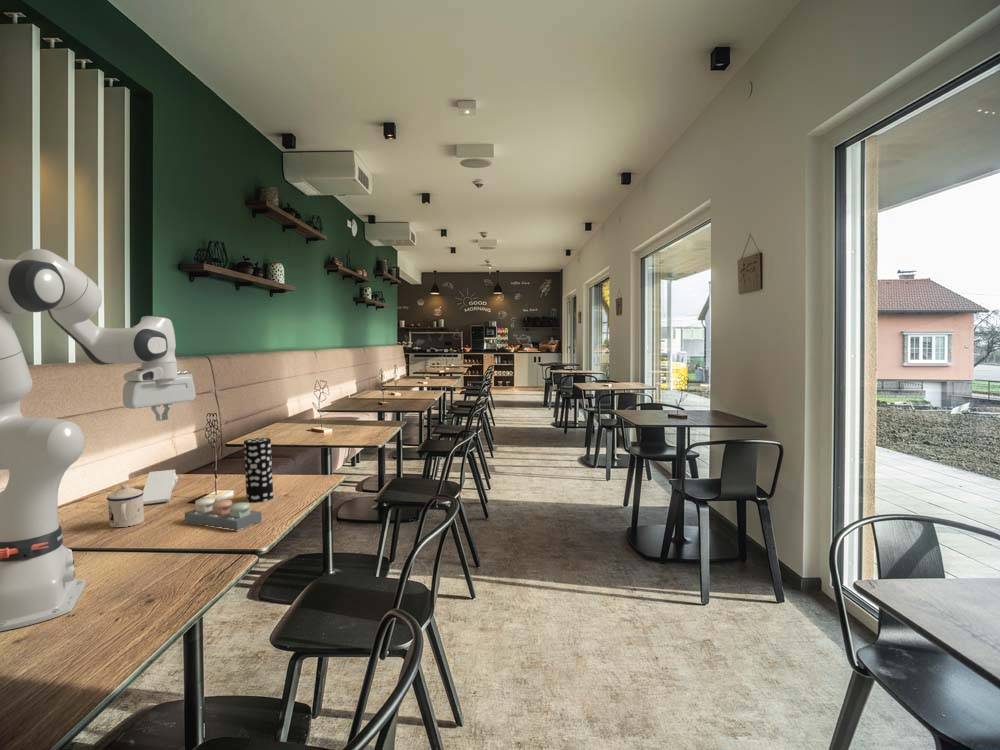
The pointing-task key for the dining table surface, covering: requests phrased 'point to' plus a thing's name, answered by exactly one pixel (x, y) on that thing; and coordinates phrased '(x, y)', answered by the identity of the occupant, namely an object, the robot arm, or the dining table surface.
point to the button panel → (222, 519)
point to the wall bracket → (159, 486)
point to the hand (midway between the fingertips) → (162, 420)
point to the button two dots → (239, 510)
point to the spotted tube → (258, 469)
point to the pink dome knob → (221, 507)
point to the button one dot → (204, 504)
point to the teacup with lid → (125, 507)
